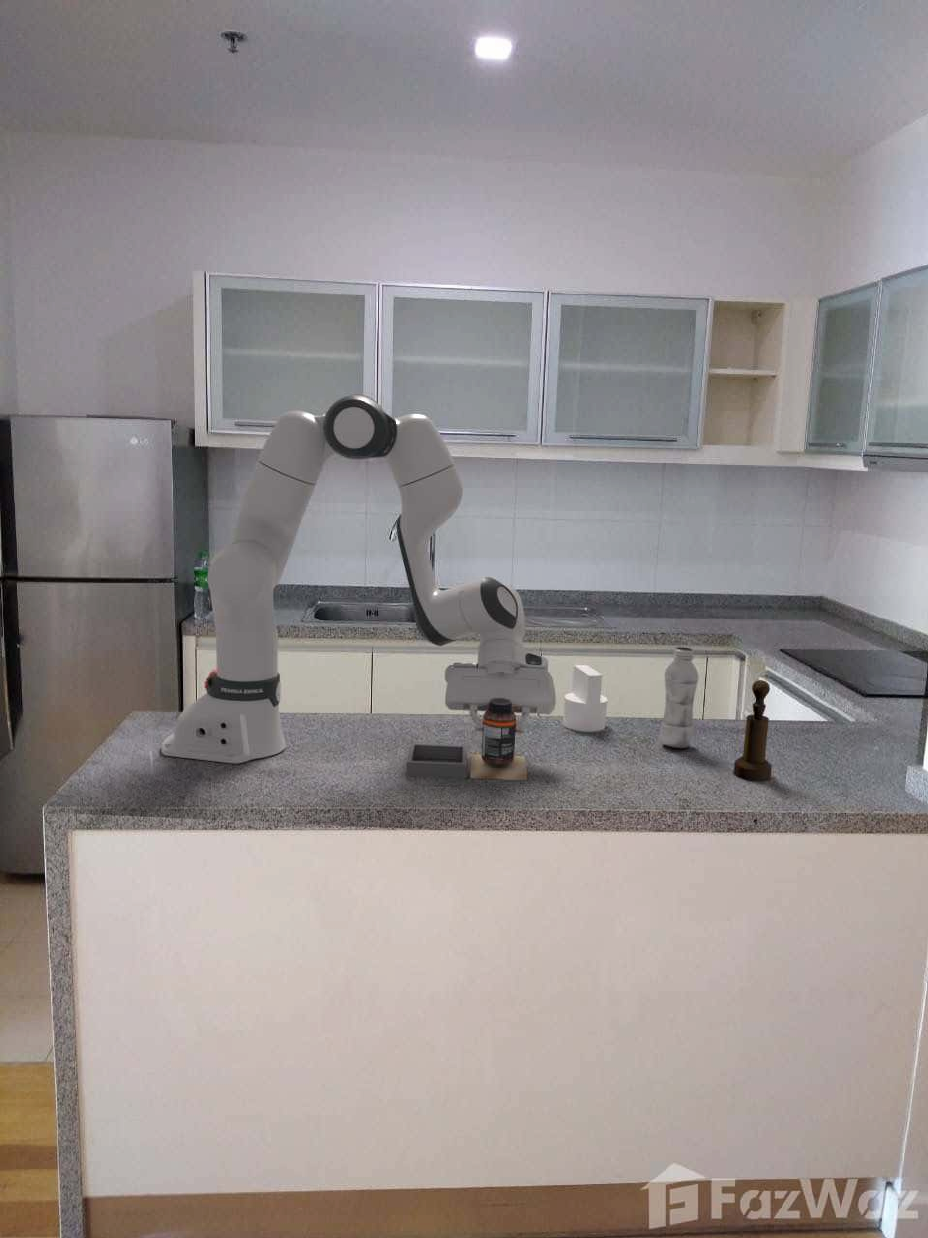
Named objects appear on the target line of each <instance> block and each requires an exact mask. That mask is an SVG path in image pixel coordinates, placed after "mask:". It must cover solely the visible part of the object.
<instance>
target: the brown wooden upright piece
mask: <svg viewBox="0 0 928 1238" xmlns="http://www.w3.org/2000/svg"><path fill="white" fill-rule="evenodd" d="M751 687H752V688H751V689H752V692H753V695H754V697H755V702H754V703H752V711H753V713H752V714H748V715H747V716H746V721H745V722H746V724H745V733H744V741H743V742H744V744H743V751H742V755H741V756H739V757H738V758H737V759H735V761H734V765H733V775H734V776H736V777H737V778H740V779H743V780H746V781H755V782H756V781H758V782H762V781H763V782H765V781H768V780H770V779H771V778H772V768H773V766H772V764H771V763H770V762H769V761H768V760H767V759H766V753H767V743H768V741H767V740H768V732H769V731H768V730H769V720H770V718H769V717H768V716H765V715H764V713H765V711H766V704H765V698H766V697H767V696H768V695H769V693H770V689H771V688H770V684H769V683H768V681H765V680H762V679H758V680H755V681H754V683H753V684H752V686H751Z"/></svg>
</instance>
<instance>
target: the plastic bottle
mask: <svg viewBox="0 0 928 1238" xmlns="http://www.w3.org/2000/svg"><path fill="white" fill-rule="evenodd" d="M673 650H674V651H673V654H672V655H673V656H672V657H673V659H674V660H673V661H671V663H670V664H669V665H668V666H667V668H666V669H665V670H664V671H665V672H664V687H665V688H664V689H665V703H664V704H665V705H664V712H663V719H662V722H661V725H660V730H659V735H660V736H659V738H660V742H662V745H664V746H667V747H668V748H669V747H670V748H676V749H685V748H690V747H691V745H692V744H693V742H694V738H695V729H694V719H693V718H694V717H693V716H694V702H695V697H696V696H695V695H696V690H697V687H698V682H699V672H698V670H697V668H696V666H695V665H694V662H693V661H692V660H694V659H695V658H694V657H695V656H694V653H695V652H694V651H695V650H694V649H693V648H690V647H685V646H677V647H674V649H673Z"/></svg>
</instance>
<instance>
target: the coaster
mask: <svg viewBox="0 0 928 1238" xmlns="http://www.w3.org/2000/svg"><path fill="white" fill-rule="evenodd" d="M481 757H482V754H479V753H471V754H470V760H469V761H470V765H469V766H470V769H469V773H470V774H469V775H470V777H469V778H470V779H482V780H483V779H484V780H508V781H528V773H527V763H526V760H525V756H524V755H523V756H521V755H514V760H513V762H511V763H510V764H507V765H492V764H488V763H486V762H484V761H483V760H482V758H481Z"/></svg>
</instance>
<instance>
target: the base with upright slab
mask: <svg viewBox="0 0 928 1238" xmlns="http://www.w3.org/2000/svg"><path fill="white" fill-rule="evenodd" d="M602 680H603V674H601V673H600V672H598V671H597V670H595V669H594V668H592V667H590V666H589V665H587V664H584V665H583V664H577V665H576V664H575V665H573V678H572V691H571V692H569V693H567V694H565V695H564V703H563V719H562V725H563V726H564V727H565V728H567V729H570V730H574V731H578V732H587V733H588V732H590V733H591V732H599V731H600V732H601V731H603V730H605V729H606V723H607V722H606V721H607V708H608V698H607V697H606V696H604V695H602V683H603V681H602Z"/></svg>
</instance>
